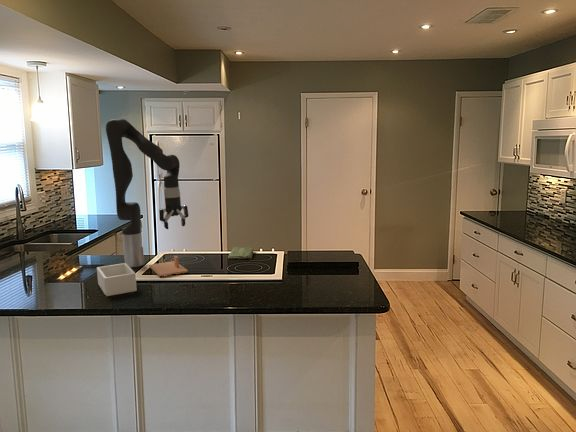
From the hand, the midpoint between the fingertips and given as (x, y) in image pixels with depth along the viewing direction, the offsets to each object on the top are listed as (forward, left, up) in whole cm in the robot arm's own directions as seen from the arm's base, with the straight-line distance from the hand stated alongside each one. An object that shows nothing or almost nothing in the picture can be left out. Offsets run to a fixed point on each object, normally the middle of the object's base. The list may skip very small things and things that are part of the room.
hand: (175, 227), depth 246 cm
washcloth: (-37, -4, -22) cm, 44 cm away
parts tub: (+33, +14, -21) cm, 41 cm away
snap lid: (+6, +2, -22) cm, 22 cm away
